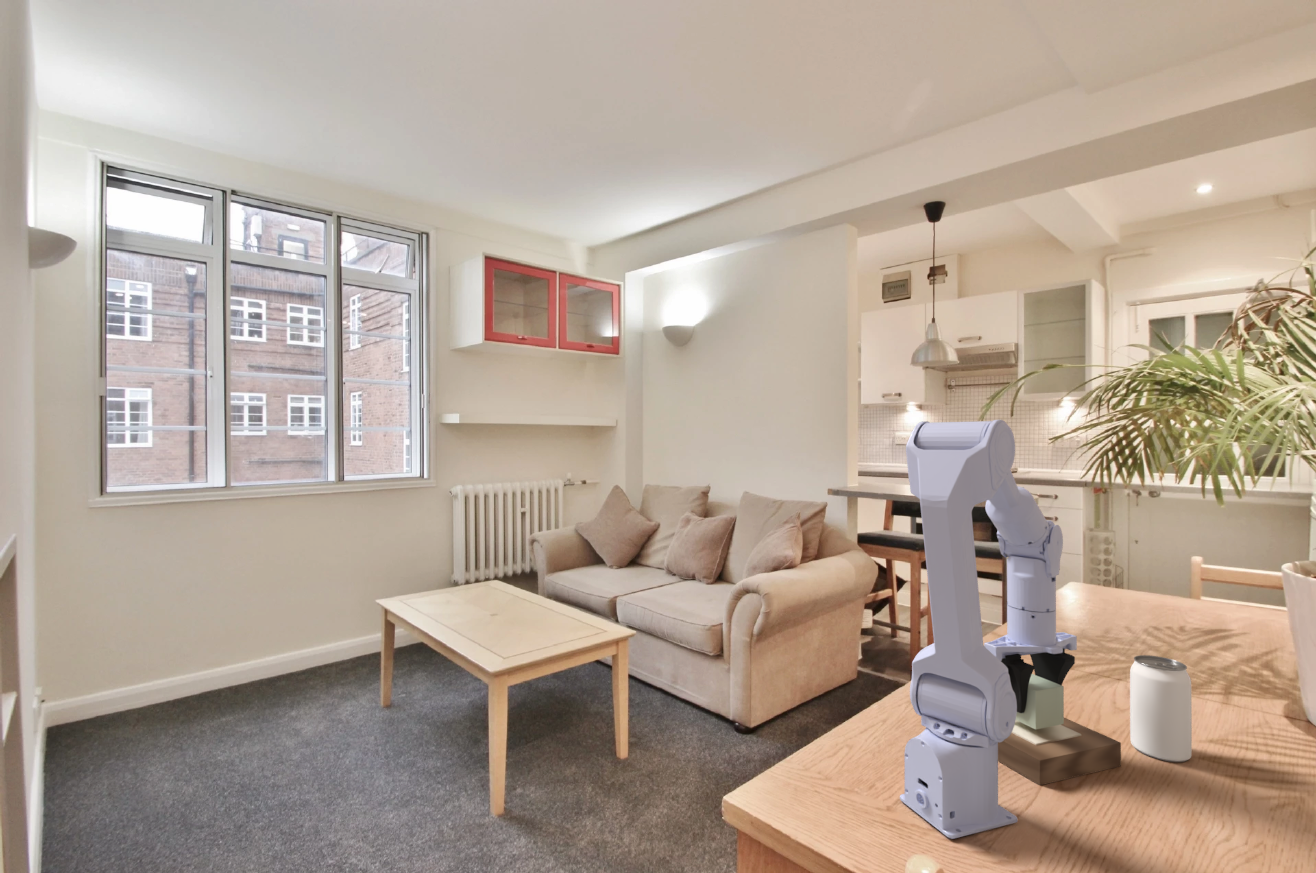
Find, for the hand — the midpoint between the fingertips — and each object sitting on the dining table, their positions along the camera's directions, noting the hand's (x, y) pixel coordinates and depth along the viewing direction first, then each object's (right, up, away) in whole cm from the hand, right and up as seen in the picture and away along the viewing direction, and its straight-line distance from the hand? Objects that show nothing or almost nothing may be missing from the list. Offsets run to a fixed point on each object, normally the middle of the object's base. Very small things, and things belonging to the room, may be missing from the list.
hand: (1031, 707), depth 85 cm
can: (+17, -6, 0) cm, 18 cm away
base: (0, -6, 0) cm, 6 cm away
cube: (0, -2, 0) cm, 2 cm away
